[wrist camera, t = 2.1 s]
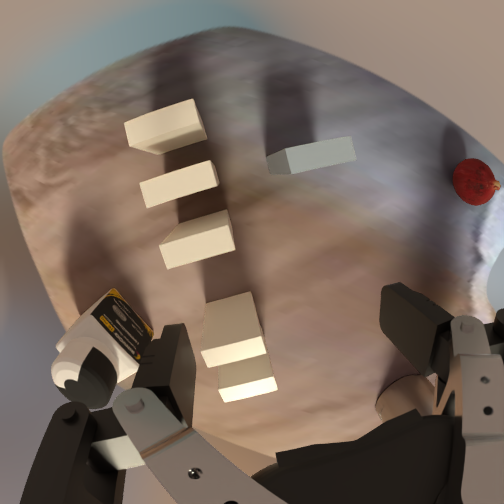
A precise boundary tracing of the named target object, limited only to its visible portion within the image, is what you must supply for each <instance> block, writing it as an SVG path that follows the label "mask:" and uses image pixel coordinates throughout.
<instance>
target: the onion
mask: <svg viewBox="0 0 504 504" xmlns="http://www.w3.org/2000/svg"><path fill="white" fill-rule="evenodd" d="M453 185H454V188H455V191H456V193H457V194H458V195H459V197H460V198H461V199H462V200H463V201H465V202H466V203H469V204H471V205H476V206H477V205H481V204H484V203H486V202H488V201H489V200H490V199H491V198H492V197H493V195H494V193H495V190H499V189H500V187H501V185H500V183H499V181H496V180H495V177H494V175H493V173H492V171H491V169H490V168H489V166H488V165H486V164H485V163H484V162H482V161H481V160H479V159H474V158H472V159H465V160H463V161H462V162H460V163H459V164H458V165H457V167H456V168H455V170H454V173H453Z"/></svg>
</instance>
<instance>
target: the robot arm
mask: <svg viewBox="0 0 504 504" xmlns="http://www.w3.org/2000/svg"><path fill="white" fill-rule="evenodd" d="M379 321H380V327H381V329H382V331H383V333H384V334H385V335H386V336H387V337H388V338H389V339H390V340H391V341H392V343H393V344H394V345H395V346H396V347H397V348H398V349H399V350H400V351H401V352H402V353H403V355H404V356H405V357H406V358H407V359H408V360H409V361H410V362H411V363H412V364H413V366H414V367H415V368H416V369H417V370H418V371H419V372H420V373H421V374H420V375H418V376H416V375H410V376H406V377H403V378H401V379H399V380H397V381H396V382H394V383H393V384H392V385H390V386H389V387H388V388H387V389H386V390H385V391H384V392H383V393H382V394H381V396H380V397H379V399H378V401H377V403H376V411H377V413H378V415H379V417H380V419H381V420H382V422H383V424H381V425H380V426H378V427H377V428H375V429H374V430H372V431H370V432H369V433H367V434H366V435H364V436H362V437H361V438H359V439H357V440H355V441H349V442H339V443H328V444H314V445H310V446H305V447H301V448H297V449H292V450H287V451H282V452H277V453H276V459H277V463H275V464H273V465H270V466H268V467H266V468H264V469H262V470H260V471H259V472H257V473H255V474H254V475H253V476H251V477H249V476H248V475H247V474H245V473H244V472H243V471H241V470H240V469H239V468H238V467H237V466H235V465H234V464H233V463H232V462H230V461H229V460H228V459H227V458H225V457H224V456H223V455H222V454H221V453H220V452H219V451H217V450H216V449H215V448H214V447H213V446H212V445H211V444H210V443H208V442H207V441H206V440H205V439H204V438H203V437H202V436H201V435H200V434H199V433H198V432H197V431H195V430H194V429H193V428H192V418H193V404H194V391H195V379H196V362H195V357H194V353H193V350H192V347H191V343H190V340H189V337H188V333H187V330H186V327H185V325H184V323H181V324H173V325H165V326H164V328H163V331H162V335H161V338H160V339H153V340H152V342H151V343H150V344H149V345H148V346H147V347H146V348H145V351H144V354H143V358H142V359H141V362H140V365H139V368H138V370H137V373H136V376H135V379H134V382H133V385H132V388H131V389H128V390H126V391H124V392H122V393H121V394H119V395H118V396H117V397H116V399H115V400H114V402H113V406H112V407H111V408H108V409H104V410H99V411H94V412H90V411H89V409H88V407H87V406H86V405H85V404H84V403H82V402H77V401H74V402H69V403H66V404H64V405H62V406H60V407H59V408H58V409H57V410H56V411H55V413H54V414H53V416H52V419H51V421H50V423H49V426H48V428H47V430H46V432H45V435H44V437H43V440H42V442H41V445H40V447H39V449H38V452H37V454H36V457H35V460H34V462H33V465H32V468H31V470H30V474H29V476H28V479H27V482H26V485H25V488H24V491H23V494H22V498H21V501H20V504H122V500H123V491H124V483H125V475H126V469H127V468H131V467H137V466H141V465H145V464H146V465H147V466H148V468H149V469H150V470H151V471H152V473H153V474H154V475H155V477H156V478H157V479H158V481H159V482H160V483H161V485H162V486H163V487H164V488H165V489H166V491H167V492H168V493H169V494H170V496H171V497H172V498H173V499H174V500H175V501H176V503H177V504H504V309H500V310H498V311H497V313H496V317H495V320H494V322H493V323H488V324H483V323H482V322H481V321H480V320H479V319H477V318H475V317H472V316H467V315H462V316H457V317H454V316H452V315H451V314H449V313H448V312H447V311H445V310H444V309H443V308H441V307H440V306H438V305H436V303H434V302H433V301H430V299H428V298H427V297H426V296H424V295H423V294H420V293H418V292H415V291H412V290H411V289H409V288H408V287H406V286H405V285H404V284H402V283H400V282H398V283H394V284H390V285H386V286H384V287H383V288H382V291H381V305H380V319H379ZM433 373H436V374H437V376H436V379H435V387H434V386H433V385H432V383H431V382H430V381H429V380H428V379H427V378H426V377H427V376H429V375H431V374H433Z"/></svg>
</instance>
